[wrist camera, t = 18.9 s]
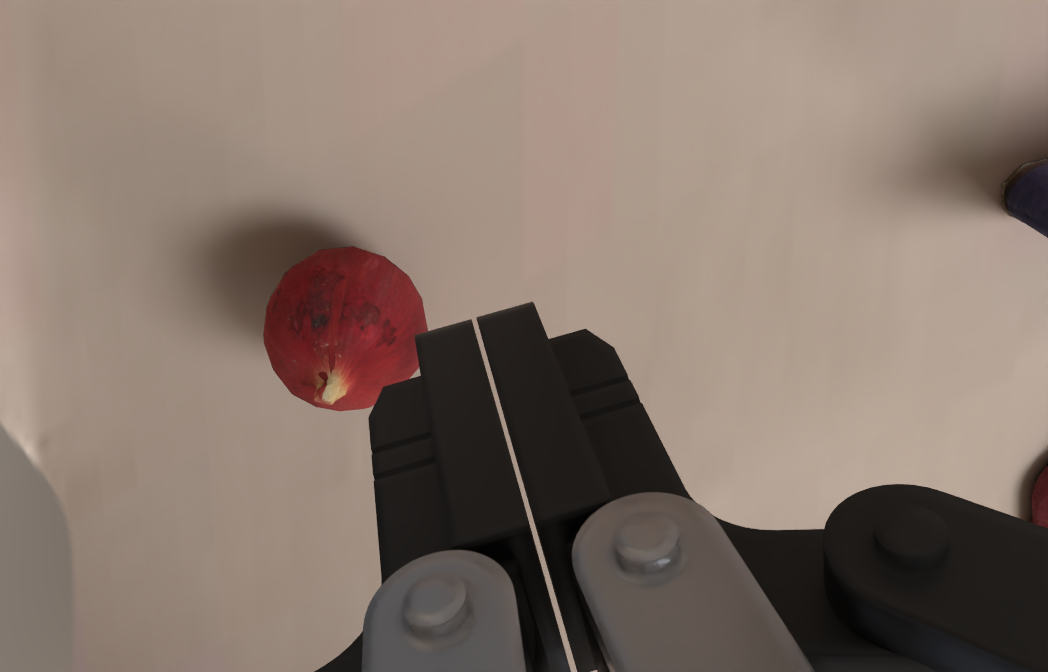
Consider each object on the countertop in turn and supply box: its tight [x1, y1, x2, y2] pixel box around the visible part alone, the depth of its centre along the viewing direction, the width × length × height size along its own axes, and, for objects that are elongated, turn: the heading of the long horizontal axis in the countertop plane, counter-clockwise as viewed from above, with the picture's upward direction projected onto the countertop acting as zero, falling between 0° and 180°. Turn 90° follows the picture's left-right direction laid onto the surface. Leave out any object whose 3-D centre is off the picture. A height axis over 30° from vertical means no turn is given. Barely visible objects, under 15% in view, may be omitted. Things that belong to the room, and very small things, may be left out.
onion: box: [263, 247, 428, 411], centre depth 32 cm, size 6×6×8 cm
